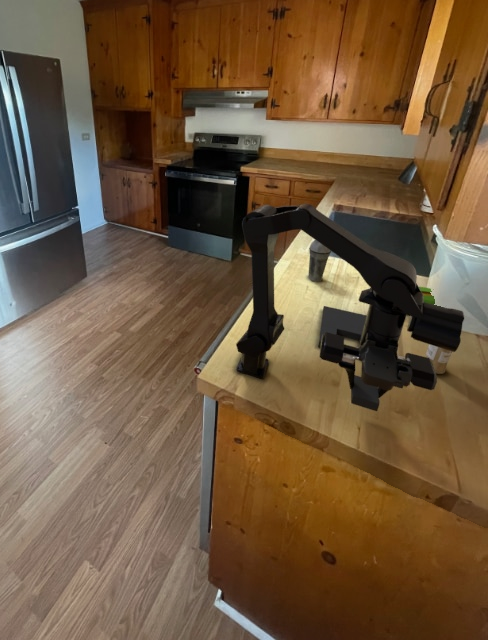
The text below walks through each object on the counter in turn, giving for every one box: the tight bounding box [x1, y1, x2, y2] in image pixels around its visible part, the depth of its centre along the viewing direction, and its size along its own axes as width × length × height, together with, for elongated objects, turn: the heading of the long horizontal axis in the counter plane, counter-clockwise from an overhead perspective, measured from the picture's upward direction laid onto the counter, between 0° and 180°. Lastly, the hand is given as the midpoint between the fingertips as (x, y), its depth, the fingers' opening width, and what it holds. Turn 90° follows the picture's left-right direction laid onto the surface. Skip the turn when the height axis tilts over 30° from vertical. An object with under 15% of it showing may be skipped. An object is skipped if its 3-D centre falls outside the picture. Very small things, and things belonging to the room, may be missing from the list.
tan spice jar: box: [425, 344, 453, 375], centre depth 77 cm, size 5×5×14 cm
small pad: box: [350, 374, 380, 412], centre depth 65 cm, size 6×4×2 cm
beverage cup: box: [308, 239, 332, 282], centre depth 117 cm, size 7×7×20 cm
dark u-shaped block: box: [317, 305, 367, 349], centre depth 91 cm, size 18×14×2 cm
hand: (364, 391), depth 65 cm, fingers closed on small pad, 4 cm apart
